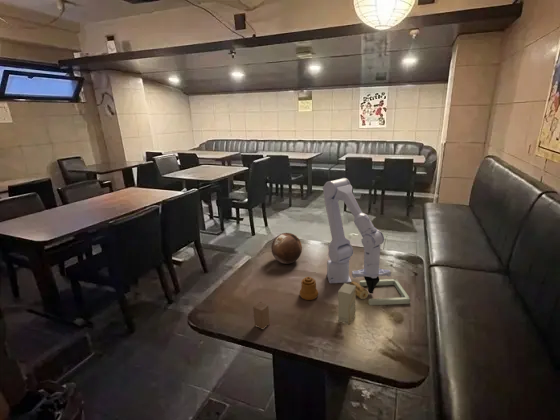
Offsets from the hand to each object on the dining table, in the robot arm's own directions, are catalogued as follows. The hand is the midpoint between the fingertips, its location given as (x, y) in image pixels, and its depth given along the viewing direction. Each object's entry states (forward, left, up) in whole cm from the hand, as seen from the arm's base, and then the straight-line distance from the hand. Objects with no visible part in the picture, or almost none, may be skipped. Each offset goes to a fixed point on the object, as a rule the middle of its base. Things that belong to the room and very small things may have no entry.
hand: (370, 292), depth 121 cm
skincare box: (-12, -14, -1) cm, 19 cm away
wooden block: (-42, -16, -1) cm, 45 cm away
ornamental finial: (-24, +1, -1) cm, 24 cm away
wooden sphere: (-32, +31, -1) cm, 45 cm away
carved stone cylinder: (-5, +1, -1) cm, 5 cm away
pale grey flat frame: (+5, 0, -1) cm, 5 cm away
